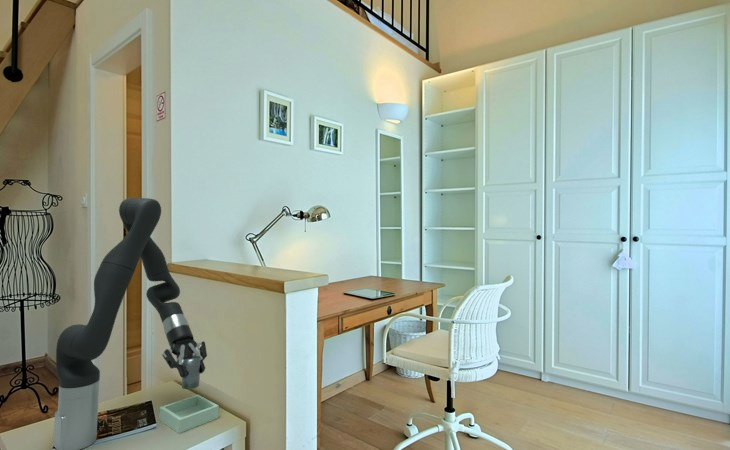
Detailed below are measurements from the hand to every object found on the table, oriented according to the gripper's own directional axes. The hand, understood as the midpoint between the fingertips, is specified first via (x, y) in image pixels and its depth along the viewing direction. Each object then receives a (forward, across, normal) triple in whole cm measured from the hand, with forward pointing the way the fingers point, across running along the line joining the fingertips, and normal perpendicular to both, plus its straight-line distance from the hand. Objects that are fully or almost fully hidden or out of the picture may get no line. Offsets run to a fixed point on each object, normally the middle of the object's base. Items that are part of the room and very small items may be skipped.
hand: (194, 374), depth 122 cm
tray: (+9, 0, +12) cm, 15 cm away
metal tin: (+2, 0, +4) cm, 5 cm away
